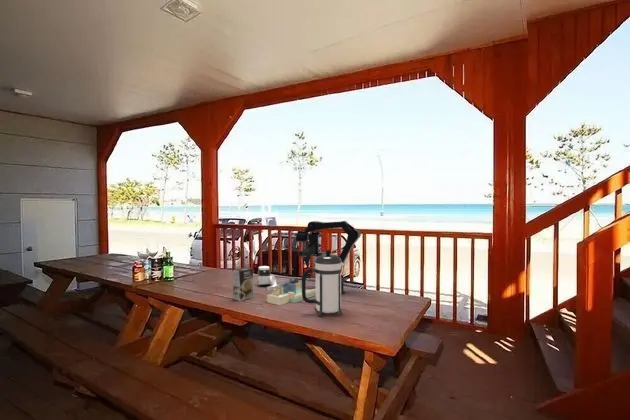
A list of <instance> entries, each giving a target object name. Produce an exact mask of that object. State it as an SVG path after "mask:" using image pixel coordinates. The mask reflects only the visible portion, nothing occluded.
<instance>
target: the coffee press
mask: <svg viewBox="0 0 630 420" xmlns="http://www.w3.org/2000/svg"><path fill="white" fill-rule="evenodd" d="M325 252H326V253H327V254H322V255H319V256H315V259H314V264H315V268H307V269H305V271H304V272H303V273H302V276H301V283H302V298H303V300H302V301H304V302H305V303H307V304H315V307H314V311H317V312H318V317H321V318H323V316H324V315H325V314H334V313H337V315H338V316H339V317H341V316H343V314H344V313H343V311H342V309H341V308H342V294H341V274H342V271H341V266H342V267H343V266H345V263H344V264H343V263H342V260H341V258H340V257H339V256H340V255H337V254H334V253H331V249H326V250H325ZM312 273H315V288H316V295H315V298H314V299H309V298H306V289H307V288H306V287H307V286H306V285H307V284H306V283H307V280H306V279H307V276H308V275H309V274H312Z"/></svg>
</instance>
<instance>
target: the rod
mask: <svg viewBox="0 0 630 420" xmlns="http://www.w3.org/2000/svg"><path fill="white" fill-rule="evenodd" d="M299 281H300V279H298V277H294V278H291V279H289V280H288V281H284V282H281V283H276V285H273V286H272V285H269V286H266V287H265V291H271V290H273V289H278V288H281V287H282V288H283V292H293V293H296V284H297V283H298V282H299Z"/></svg>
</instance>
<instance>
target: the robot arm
mask: <svg viewBox="0 0 630 420" xmlns="http://www.w3.org/2000/svg"><path fill="white" fill-rule="evenodd" d="M325 229H327V230H328V229H342V230H343V231H344V232H345V234H347V237H346V241H345V245H344V247H343V249H342V250H341V251H340V252H341V253H339V255H338V256H339V257H340V258H341V260H342V263H343V264H344V265H345V262H346V260H347V257H348V256H349V254H350V252H351V250H352V248H353V247H354V245H355V244H356V242H357V241H358V240H360V238H361V237H362V236H361V235H362V234H361V233H362V232H361V231H360V230H359V229H358V228H355V227H354V226H352V225H351V224H350V223H349V222H348V221H346V220H342V221H341V220H340V221H327V222H325V221H317V220H314V221H309V222H308V223H307V227H306V228H305V230H297V233H296V236H295V240H296V242H297V243H307V242H308V243H307V245H306V247H305V248H304V249H303V250H299V252H298V256H300V258H302V259H303V261H304V263H305V265H306V268H307V269H309V266H310V260H311V256H314V257H317V256H319V255H322V254H327V253H326V251H322V252H320V250H319V247H320V246H321V244H320V243H319V236H321V235H323V233H322V232H321V231H320V230H325ZM342 271H343V266H341V272H342ZM344 279H345V276H344V275H342V273H341V295H342V294H344V293H346V291H345V290H344ZM343 292H344V293H343Z"/></svg>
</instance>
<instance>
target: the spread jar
mask: <svg viewBox="0 0 630 420" xmlns="http://www.w3.org/2000/svg"><path fill="white" fill-rule="evenodd" d="M276 284H277V279H276V277H275V275H274V274H271V270H270V266H268V265H262V266H261V265H260V266H258V271H257V286H258V287H262V288H263V287H264V288H266V287H269V286H273V285H276Z"/></svg>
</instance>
